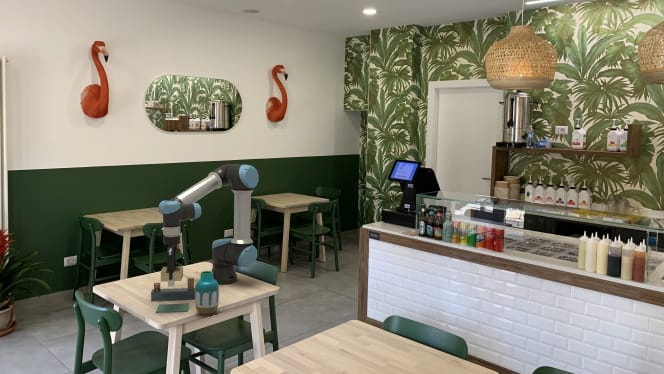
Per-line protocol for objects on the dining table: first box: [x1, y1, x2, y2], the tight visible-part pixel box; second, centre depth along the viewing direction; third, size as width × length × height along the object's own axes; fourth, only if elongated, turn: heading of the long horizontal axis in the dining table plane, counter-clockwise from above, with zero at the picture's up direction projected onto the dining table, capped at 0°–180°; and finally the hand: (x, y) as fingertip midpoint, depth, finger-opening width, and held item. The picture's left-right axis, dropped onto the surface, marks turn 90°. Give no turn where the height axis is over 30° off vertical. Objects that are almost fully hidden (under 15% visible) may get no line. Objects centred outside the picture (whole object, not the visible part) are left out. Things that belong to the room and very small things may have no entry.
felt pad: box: [155, 302, 190, 314], centre depth 247 cm, size 14×10×1 cm
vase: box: [194, 270, 220, 315], centre depth 241 cm, size 11×11×19 cm
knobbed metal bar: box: [150, 277, 195, 302], centre depth 260 cm, size 21×5×10 cm, turn 100°
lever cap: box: [160, 266, 184, 283], centre depth 245 cm, size 9×8×5 cm
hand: (172, 283), depth 245 cm, fingers closed on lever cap, 8 cm apart
